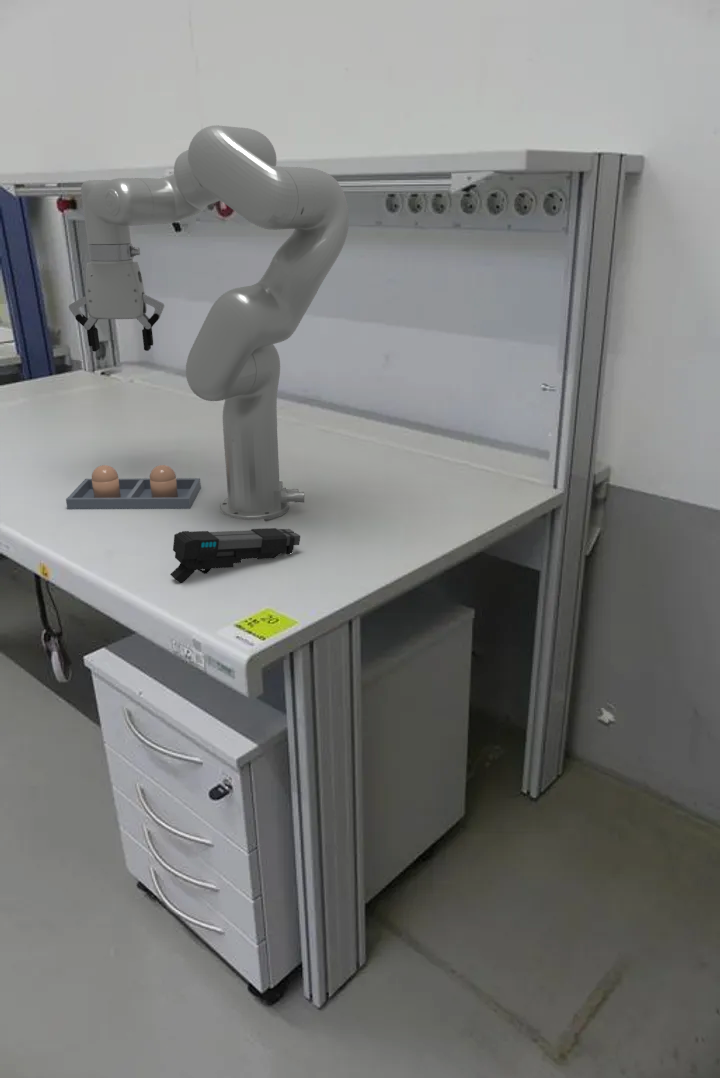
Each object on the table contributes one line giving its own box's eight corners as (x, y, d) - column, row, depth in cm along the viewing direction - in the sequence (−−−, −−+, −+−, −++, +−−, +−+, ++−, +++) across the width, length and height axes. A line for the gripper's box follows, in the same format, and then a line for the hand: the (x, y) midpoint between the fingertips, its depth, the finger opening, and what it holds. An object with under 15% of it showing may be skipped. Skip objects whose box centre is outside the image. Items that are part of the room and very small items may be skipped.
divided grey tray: (201, 490, 159) (200, 478, 158) (190, 511, 148) (188, 498, 147) (87, 490, 158) (85, 478, 157) (67, 512, 148) (65, 499, 147)
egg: (123, 493, 155) (119, 461, 153) (117, 502, 151) (112, 469, 148) (98, 493, 155) (94, 461, 152) (91, 502, 151) (86, 470, 148)
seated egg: (180, 493, 155) (177, 461, 153) (175, 502, 151) (171, 469, 148) (155, 493, 155) (151, 461, 153) (149, 502, 151) (145, 469, 148)
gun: (163, 576, 122) (178, 513, 120) (273, 584, 135) (289, 528, 133) (175, 587, 119) (190, 523, 117) (287, 594, 131) (303, 536, 129)
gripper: (162, 252, 150) (171, 346, 157) (67, 253, 149) (80, 347, 156) (155, 255, 143) (164, 353, 150) (56, 256, 142) (70, 354, 149)
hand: (121, 349), depth 153 cm, fingers open, 9 cm apart
